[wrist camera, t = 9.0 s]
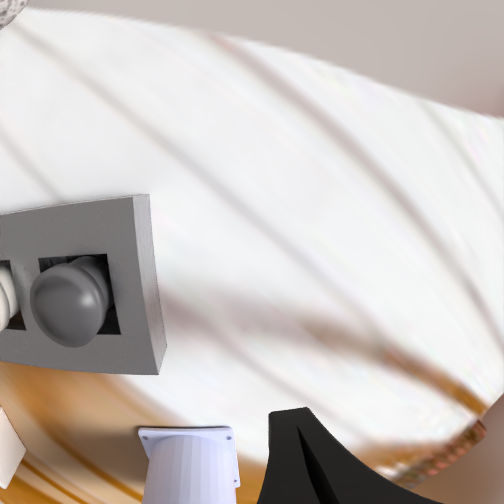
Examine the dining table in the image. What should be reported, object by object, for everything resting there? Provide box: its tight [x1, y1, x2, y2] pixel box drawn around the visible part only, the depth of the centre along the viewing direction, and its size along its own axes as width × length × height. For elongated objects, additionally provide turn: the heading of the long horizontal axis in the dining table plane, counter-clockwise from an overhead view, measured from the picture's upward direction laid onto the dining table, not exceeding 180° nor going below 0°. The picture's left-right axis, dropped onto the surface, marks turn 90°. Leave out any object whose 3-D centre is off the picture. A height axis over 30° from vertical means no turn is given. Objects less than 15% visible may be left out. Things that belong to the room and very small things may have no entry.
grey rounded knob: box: [30, 256, 114, 348], centre depth 14 cm, size 4×4×4 cm
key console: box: [0, 194, 167, 375], centre depth 15 cm, size 10×22×4 cm, turn 92°
